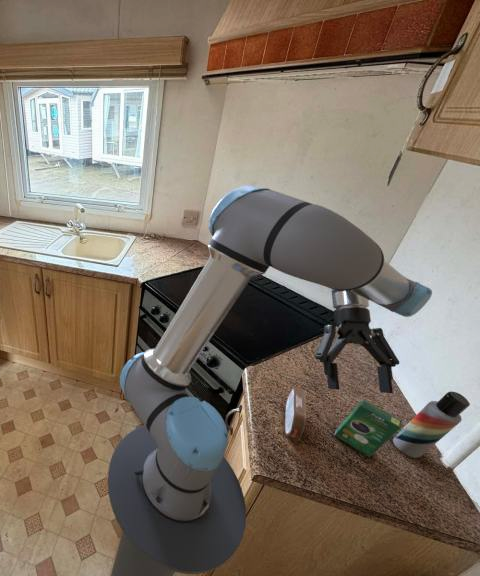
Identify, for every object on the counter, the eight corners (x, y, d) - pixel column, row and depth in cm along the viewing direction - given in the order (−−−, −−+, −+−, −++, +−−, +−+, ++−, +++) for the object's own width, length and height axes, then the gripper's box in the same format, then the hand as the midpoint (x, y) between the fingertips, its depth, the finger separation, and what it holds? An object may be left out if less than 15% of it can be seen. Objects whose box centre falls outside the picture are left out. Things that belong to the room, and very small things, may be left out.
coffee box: (372, 451, 78) (403, 419, 71) (370, 459, 76) (402, 427, 69) (336, 429, 83) (361, 397, 76) (333, 436, 81) (359, 404, 74)
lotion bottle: (391, 433, 83) (440, 382, 72) (418, 445, 80) (473, 395, 69) (393, 449, 79) (446, 398, 68) (422, 463, 76) (481, 412, 65)
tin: (295, 447, 77) (309, 427, 73) (281, 441, 79) (295, 421, 74) (295, 404, 89) (307, 384, 84) (283, 399, 90) (295, 379, 85)
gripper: (383, 313, 87) (394, 392, 82) (295, 307, 87) (301, 386, 82) (410, 310, 79) (424, 396, 75) (315, 303, 79) (322, 389, 75)
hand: (360, 391), depth 78 cm, fingers open, 13 cm apart
